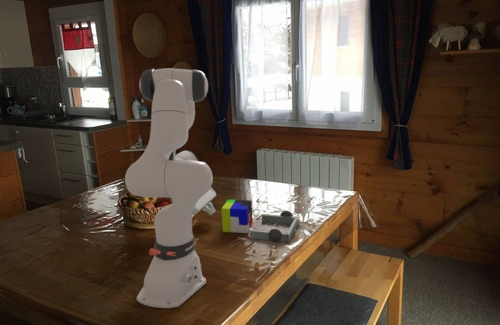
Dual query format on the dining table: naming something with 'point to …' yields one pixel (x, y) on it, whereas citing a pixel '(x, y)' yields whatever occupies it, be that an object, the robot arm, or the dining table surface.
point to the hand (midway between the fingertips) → (213, 213)
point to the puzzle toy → (237, 216)
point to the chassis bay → (275, 233)
